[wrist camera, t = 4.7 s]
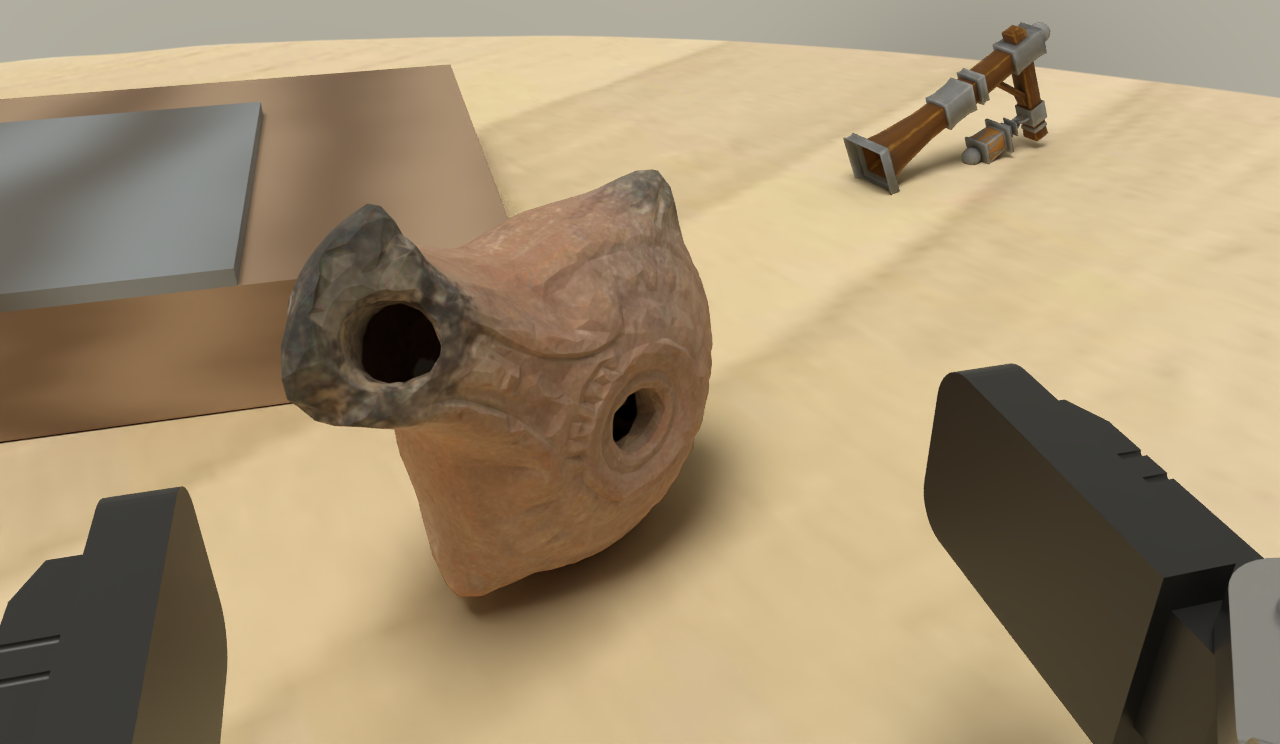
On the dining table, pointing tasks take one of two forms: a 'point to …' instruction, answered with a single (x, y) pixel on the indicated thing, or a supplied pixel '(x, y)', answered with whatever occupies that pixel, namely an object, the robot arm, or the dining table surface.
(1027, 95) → the wooden blunderbuss cannon
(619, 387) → the oil lamp
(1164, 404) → the dining table surface
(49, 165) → the wooden block
